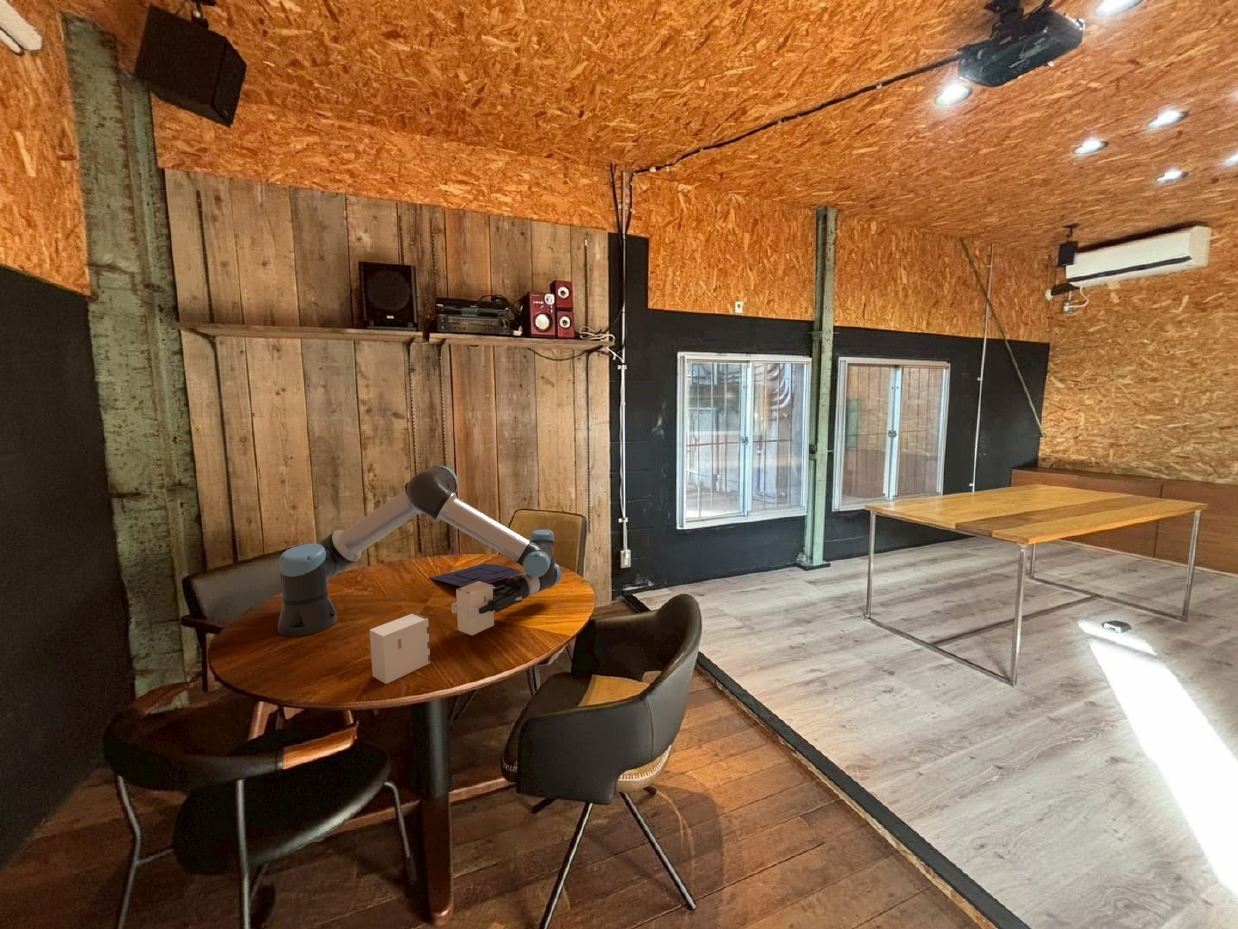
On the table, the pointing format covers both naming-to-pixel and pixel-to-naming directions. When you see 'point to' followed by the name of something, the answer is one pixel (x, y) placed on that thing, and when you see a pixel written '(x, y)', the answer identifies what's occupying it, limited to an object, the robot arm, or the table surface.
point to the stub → (469, 599)
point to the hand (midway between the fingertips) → (460, 611)
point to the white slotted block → (399, 647)
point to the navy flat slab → (478, 574)
